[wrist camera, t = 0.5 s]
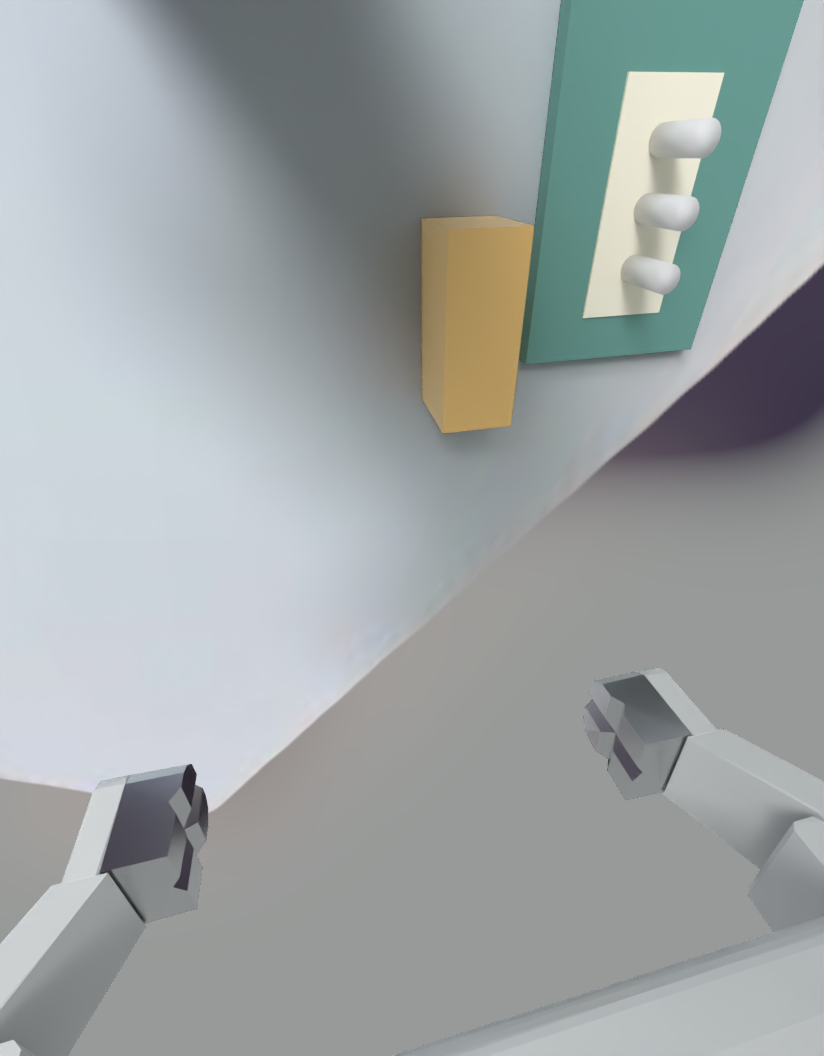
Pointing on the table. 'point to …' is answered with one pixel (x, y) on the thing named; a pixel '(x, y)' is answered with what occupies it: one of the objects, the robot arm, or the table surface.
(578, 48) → the board
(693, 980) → the robot arm
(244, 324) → the table surface
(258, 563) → the table surface
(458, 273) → the block
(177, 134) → the table surface
